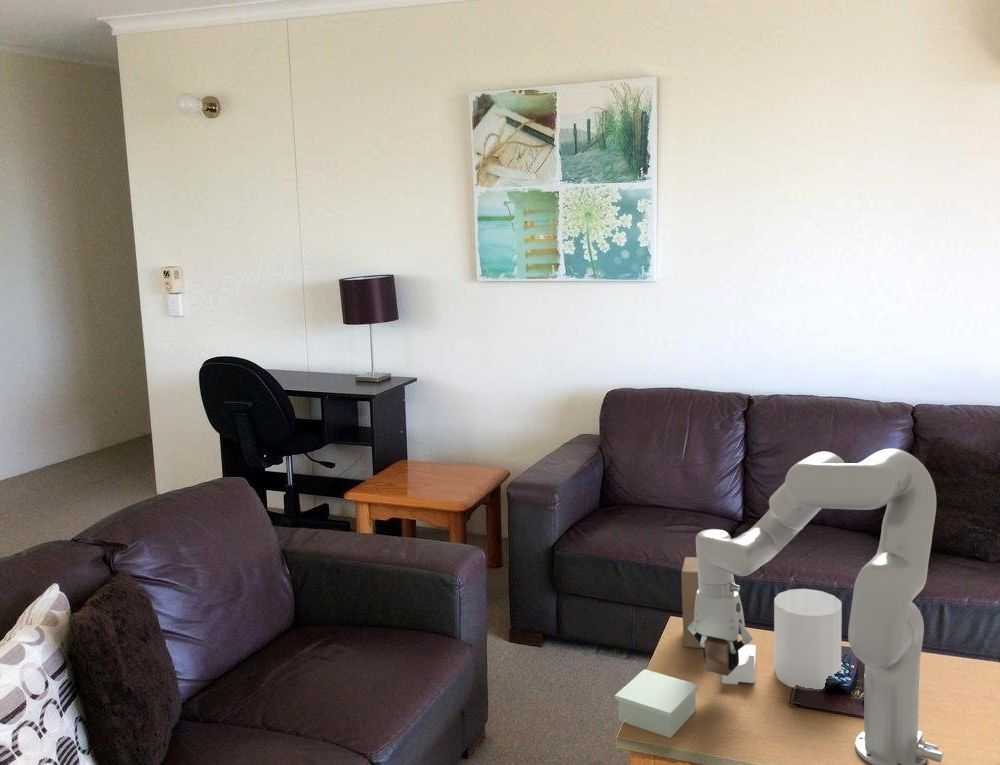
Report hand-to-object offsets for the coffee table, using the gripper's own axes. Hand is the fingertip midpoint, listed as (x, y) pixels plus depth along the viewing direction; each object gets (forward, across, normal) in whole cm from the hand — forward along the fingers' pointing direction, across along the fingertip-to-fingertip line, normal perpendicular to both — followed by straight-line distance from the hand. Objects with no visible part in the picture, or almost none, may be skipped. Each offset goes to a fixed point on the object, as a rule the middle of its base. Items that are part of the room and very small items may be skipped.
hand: (721, 664), depth 191 cm
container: (+8, -13, -18) cm, 24 cm away
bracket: (+8, +1, -12) cm, 15 cm away
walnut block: (+1, 0, 0) cm, 1 cm away
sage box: (+7, +8, +15) cm, 18 cm away
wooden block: (+7, +14, -22) cm, 27 cm away
